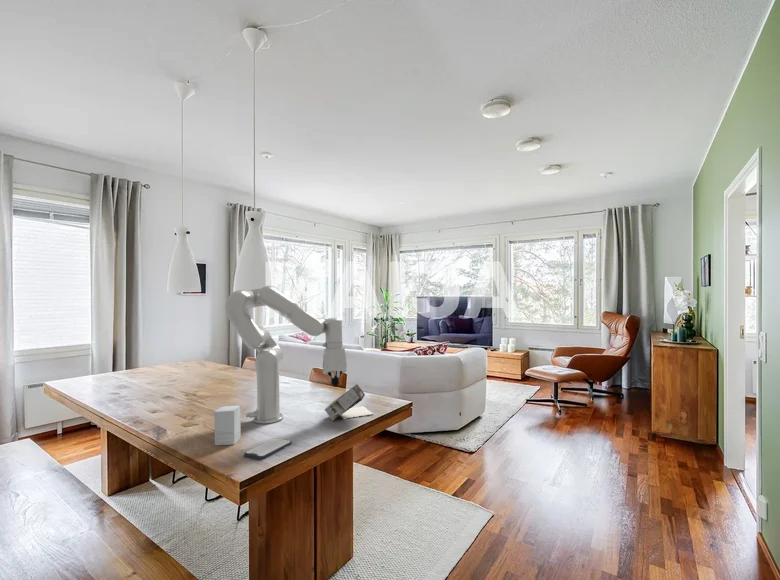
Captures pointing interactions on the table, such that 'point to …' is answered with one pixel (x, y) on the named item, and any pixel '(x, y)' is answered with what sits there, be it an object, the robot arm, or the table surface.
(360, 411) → the cream mat
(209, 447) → the table surface
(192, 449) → the table surface
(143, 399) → the table surface
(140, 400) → the table surface
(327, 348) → the robot arm
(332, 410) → the coffee box
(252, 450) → the phone case
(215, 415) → the supplement box
